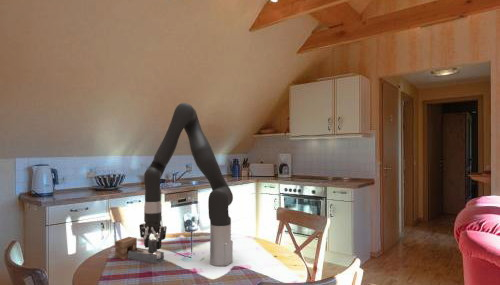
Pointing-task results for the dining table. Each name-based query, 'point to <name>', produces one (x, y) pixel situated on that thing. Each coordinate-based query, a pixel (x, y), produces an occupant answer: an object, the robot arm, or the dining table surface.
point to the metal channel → (144, 256)
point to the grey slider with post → (151, 249)
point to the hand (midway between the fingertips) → (152, 248)
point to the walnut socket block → (125, 247)
